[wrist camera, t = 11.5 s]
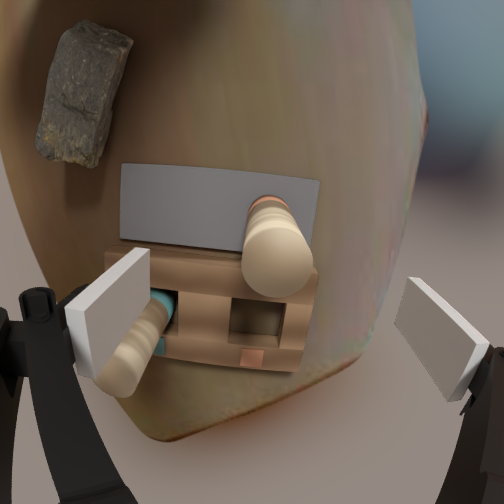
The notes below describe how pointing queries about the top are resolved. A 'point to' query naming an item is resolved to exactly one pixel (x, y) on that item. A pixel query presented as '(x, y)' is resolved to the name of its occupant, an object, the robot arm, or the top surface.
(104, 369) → the peg
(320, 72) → the top surface
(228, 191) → the mat
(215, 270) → the socket board
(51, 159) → the rock
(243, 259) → the peg
